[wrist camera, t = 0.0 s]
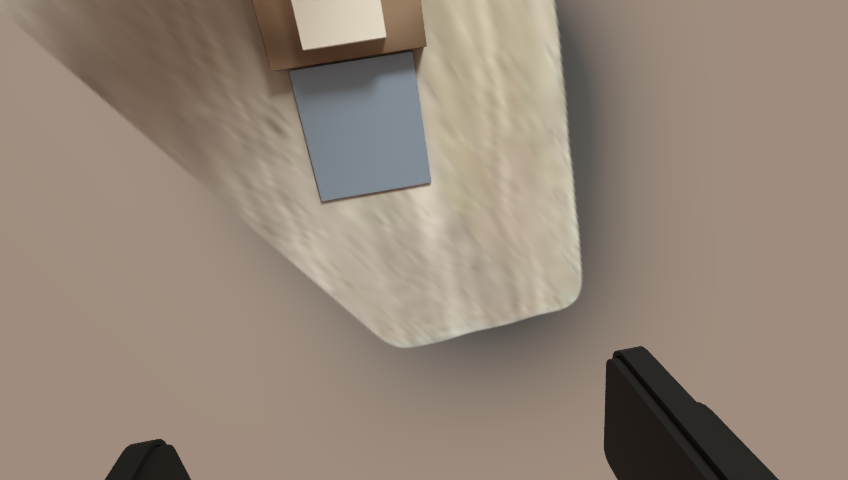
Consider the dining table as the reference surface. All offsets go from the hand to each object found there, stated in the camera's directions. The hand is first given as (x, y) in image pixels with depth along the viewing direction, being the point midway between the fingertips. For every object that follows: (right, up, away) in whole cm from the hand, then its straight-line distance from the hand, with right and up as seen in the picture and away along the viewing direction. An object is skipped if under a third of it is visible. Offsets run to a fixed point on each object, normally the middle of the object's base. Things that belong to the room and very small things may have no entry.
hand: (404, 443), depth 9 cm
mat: (-5, +14, +28) cm, 31 cm away
